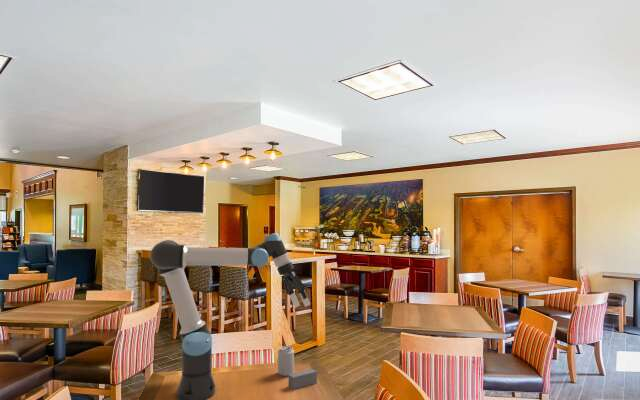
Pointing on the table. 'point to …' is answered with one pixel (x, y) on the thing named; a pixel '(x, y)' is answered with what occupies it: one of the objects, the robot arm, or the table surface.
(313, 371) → the block
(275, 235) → the robot arm
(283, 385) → the table surface
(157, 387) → the table surface
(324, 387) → the table surface
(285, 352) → the can
